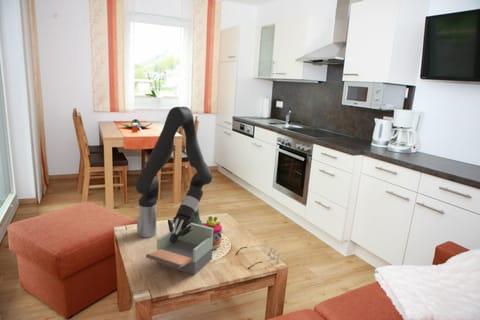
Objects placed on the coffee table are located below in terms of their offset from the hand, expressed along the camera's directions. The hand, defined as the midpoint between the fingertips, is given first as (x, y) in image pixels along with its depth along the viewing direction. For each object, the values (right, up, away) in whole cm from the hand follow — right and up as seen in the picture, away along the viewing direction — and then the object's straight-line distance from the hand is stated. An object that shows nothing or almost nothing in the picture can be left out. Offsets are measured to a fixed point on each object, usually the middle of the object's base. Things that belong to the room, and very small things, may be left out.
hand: (171, 242), depth 148 cm
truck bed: (+4, -12, +13) cm, 18 cm away
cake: (+15, -9, +30) cm, 34 cm away
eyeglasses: (+38, -13, +20) cm, 45 cm away
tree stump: (+2, -4, +47) cm, 47 cm away
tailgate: (+1, -7, +4) cm, 8 cm away
